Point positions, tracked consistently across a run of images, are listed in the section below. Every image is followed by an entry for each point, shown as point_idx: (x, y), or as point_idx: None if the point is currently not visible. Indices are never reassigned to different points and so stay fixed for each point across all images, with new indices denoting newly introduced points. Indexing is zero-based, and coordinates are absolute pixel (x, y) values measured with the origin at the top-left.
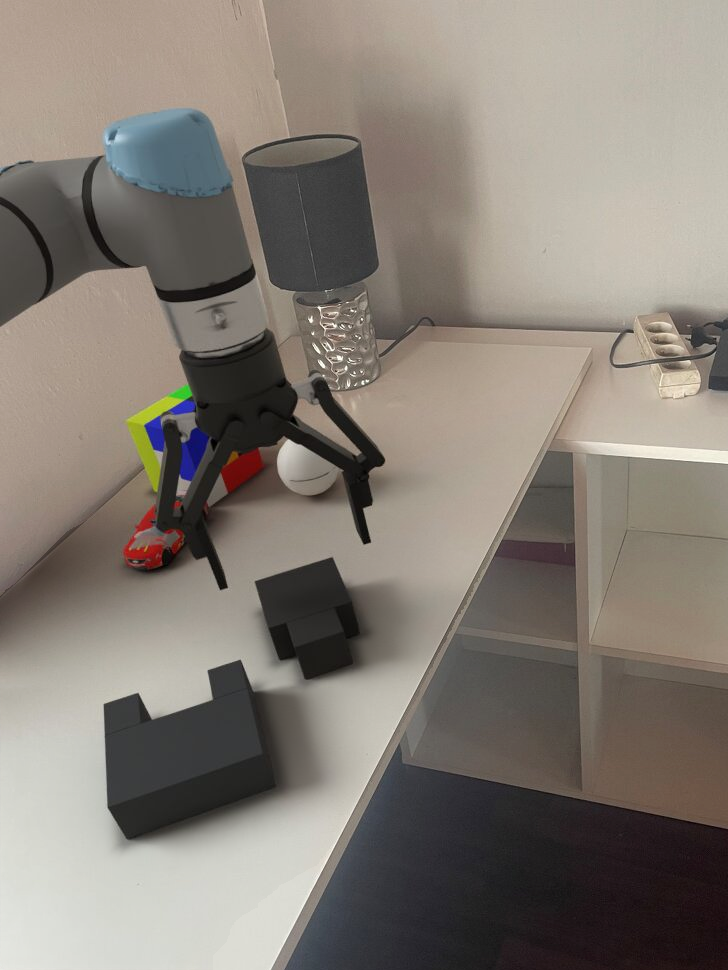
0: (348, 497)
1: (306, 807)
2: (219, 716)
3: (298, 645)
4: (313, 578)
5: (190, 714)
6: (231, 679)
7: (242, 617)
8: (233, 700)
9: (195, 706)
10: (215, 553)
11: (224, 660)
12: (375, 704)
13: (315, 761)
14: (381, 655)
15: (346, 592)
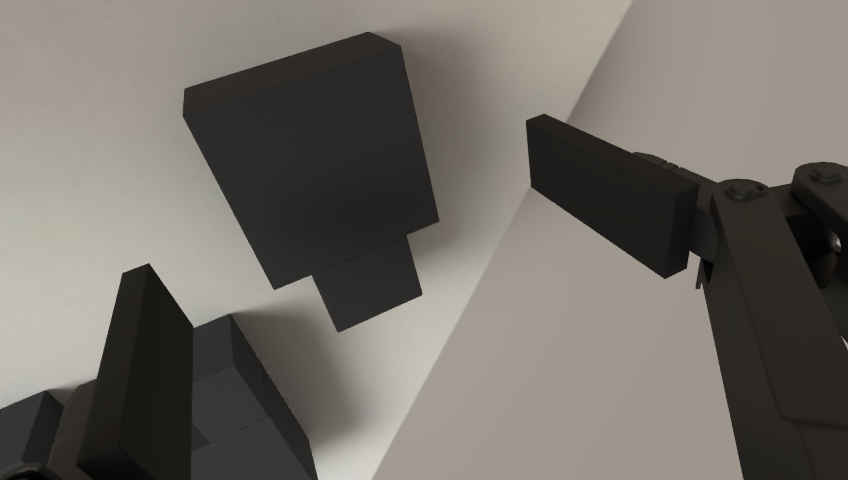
0: (600, 166)
1: (347, 450)
2: (236, 465)
3: (345, 329)
4: (356, 132)
5: None
6: (232, 406)
7: (119, 98)
8: (251, 440)
9: None
10: (179, 389)
11: (132, 241)
12: (424, 323)
13: (351, 404)
14: (438, 238)
15: (430, 194)
